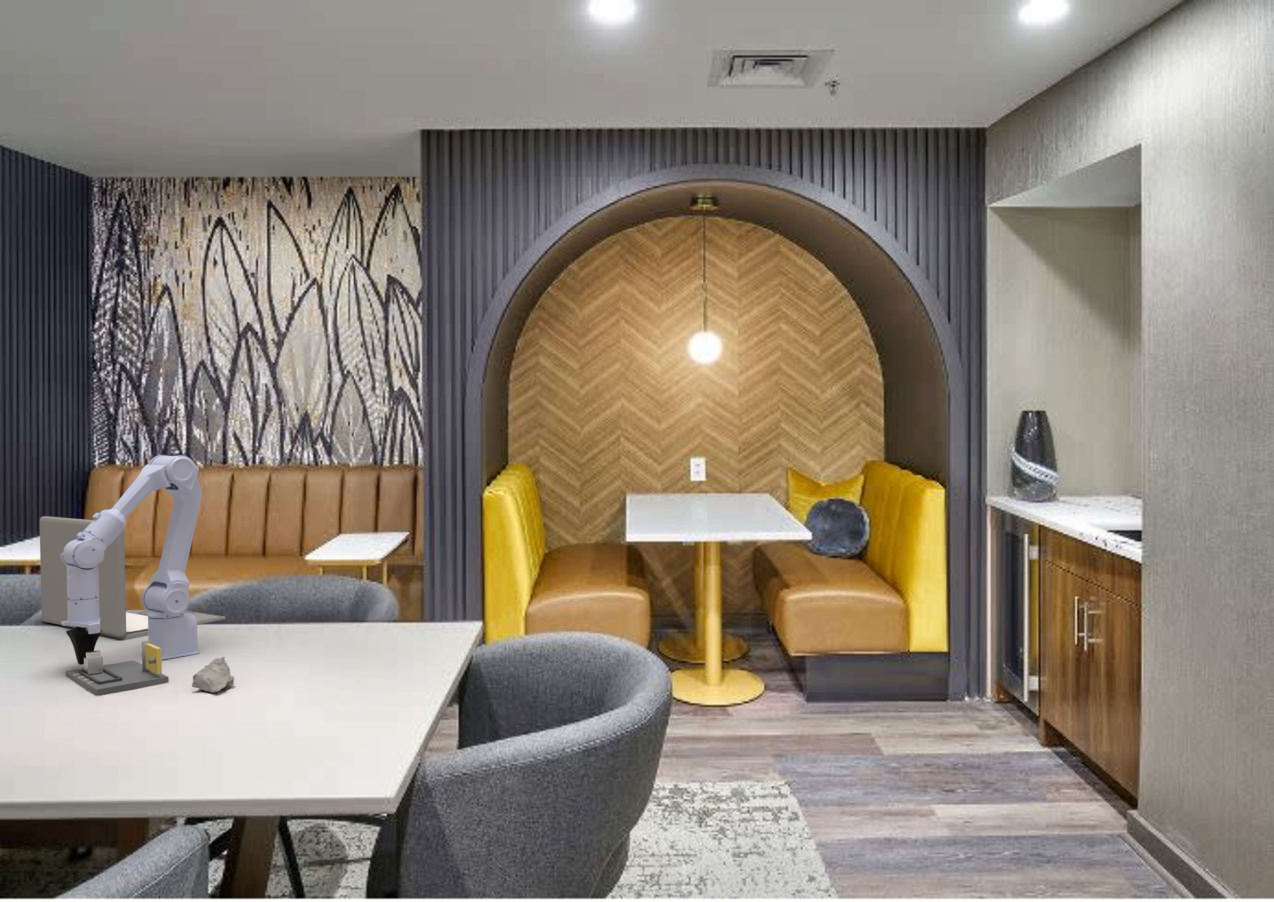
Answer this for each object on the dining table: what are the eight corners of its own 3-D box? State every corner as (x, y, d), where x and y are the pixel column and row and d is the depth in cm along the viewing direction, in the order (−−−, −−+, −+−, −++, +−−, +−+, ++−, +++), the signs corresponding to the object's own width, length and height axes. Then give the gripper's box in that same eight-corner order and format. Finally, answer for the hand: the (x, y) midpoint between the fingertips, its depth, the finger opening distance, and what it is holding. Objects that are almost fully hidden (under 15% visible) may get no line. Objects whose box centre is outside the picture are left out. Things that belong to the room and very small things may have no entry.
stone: (249, 676, 199) (249, 655, 199) (220, 694, 187) (220, 672, 187) (218, 675, 199) (218, 654, 199) (187, 693, 187) (187, 671, 187)
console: (133, 665, 210) (133, 632, 210) (168, 682, 196) (168, 646, 196) (65, 677, 201) (64, 641, 200) (97, 695, 187) (96, 657, 186)
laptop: (227, 626, 253) (225, 513, 252) (119, 647, 229) (116, 523, 228) (147, 612, 272) (145, 508, 271) (40, 631, 248) (37, 516, 248)
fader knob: (99, 670, 201) (98, 649, 201) (103, 672, 199) (102, 651, 199) (84, 672, 199) (83, 651, 199) (87, 674, 197) (87, 653, 197)
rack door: (149, 667, 200) (149, 643, 200) (161, 673, 195) (161, 648, 195) (139, 669, 199) (139, 644, 198) (151, 675, 194) (151, 649, 194)
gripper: (51, 596, 205) (52, 661, 205) (72, 604, 195) (73, 673, 195) (88, 591, 210) (89, 655, 210) (110, 600, 200) (112, 666, 200)
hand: (84, 663), depth 203 cm, fingers closed
